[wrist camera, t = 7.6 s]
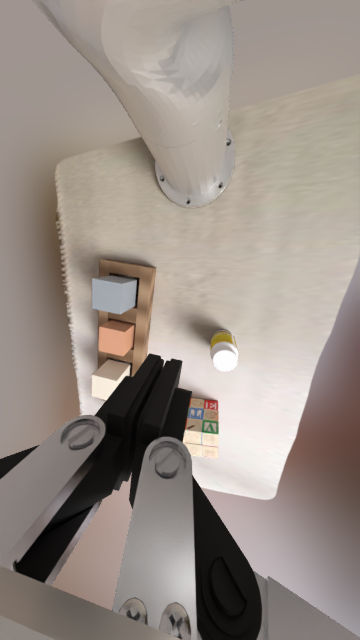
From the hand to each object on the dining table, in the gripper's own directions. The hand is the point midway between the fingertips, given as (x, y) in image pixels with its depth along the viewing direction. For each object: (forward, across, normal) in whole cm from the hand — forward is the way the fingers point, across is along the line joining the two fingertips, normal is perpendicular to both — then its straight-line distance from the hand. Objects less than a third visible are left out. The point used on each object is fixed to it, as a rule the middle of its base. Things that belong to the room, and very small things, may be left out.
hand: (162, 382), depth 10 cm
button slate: (+26, +14, +2) cm, 30 cm away
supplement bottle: (+29, -6, +9) cm, 31 cm away
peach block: (+28, +15, +11) cm, 34 cm away
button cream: (+26, +14, +20) cm, 36 cm away
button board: (+29, +14, +11) cm, 34 cm away
